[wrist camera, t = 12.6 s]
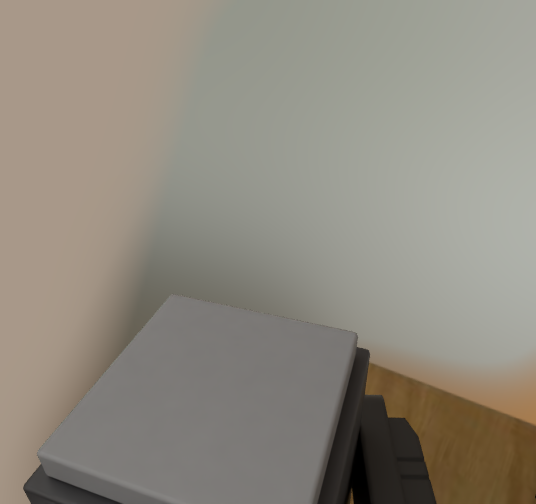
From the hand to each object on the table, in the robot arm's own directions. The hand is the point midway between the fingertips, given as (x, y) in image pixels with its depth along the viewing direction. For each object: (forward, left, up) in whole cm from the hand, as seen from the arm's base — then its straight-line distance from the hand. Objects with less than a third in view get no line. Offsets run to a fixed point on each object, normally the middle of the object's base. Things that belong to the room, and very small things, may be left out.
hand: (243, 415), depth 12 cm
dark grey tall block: (+1, -2, -6) cm, 7 cm away
